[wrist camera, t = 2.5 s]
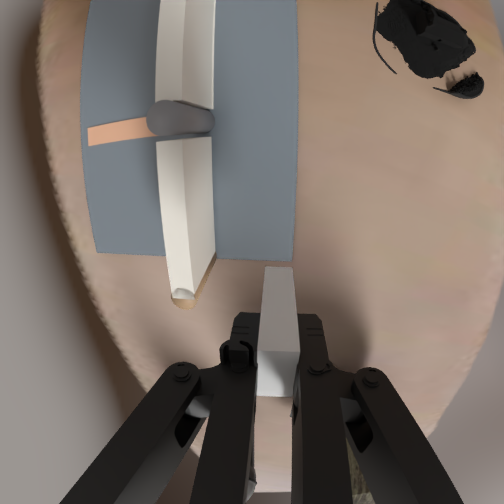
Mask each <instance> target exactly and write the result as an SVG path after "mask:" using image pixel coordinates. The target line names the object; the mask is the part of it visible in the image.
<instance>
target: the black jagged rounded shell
mask: <svg viewBox="0 0 504 504" xmlns="http://www.w3.org/2000/svg"><path fill="white" fill-rule="evenodd" d="M383 7H384V6H383ZM383 10H384V12H382V14H381V13H380V12H379V11H378V2H377V3H376V10H375V24H374V30H373V44H374V48H375V50H376V52H377V54H378V56H379V57H380V58H381V60H382V61H383V62H384V63H385V64H386V66H387V67H388V68H389V69H390V70H391V71H392V72H394V73H395V74H397V73H396V72H395V71H394V70H393V69H392V68H391V67H390V66H389V65H388V64H387V63H386V62H385V60H384V59H383V58H382V56H381V55H380V53H379V52H378V50H377V47H376V43H375V33H376V31H378V32H379V33H380V34H381V35H382V36H383V38H385V39H386V40H387V41H390V42H391V41H392V43H394V44H395V46H396V47H397V48H398V50H399V51H400V53H401V54H402V55H403V57H404V61H405V62H406V63H408V64H409V65H408V67H409V68H410V70H412V71H413V72H414V73H415V74H416V75H418V76H420V77H422V78H427V79H428V78H433V77H434V78H435V77H440V76H441V77H440V78H442V77H443V75H444V74H445V72H446V71H449V70H451V69H455V68H457V67H460V66H459V64H461V63H462V62H463V61H464V62H465V61H467V58H469V57H470V56H471V55H474V53H475V52H476V48H475V46H474V43H473V42H472V40H471V39H470V38H469V37H468V36H467V34H466V33H467V31H466V30H465V29H463V28H462V27H461V26H460V24H459V23H458V22H457V21H456V20H455V19H454V18H453V17H451V16H450V15H449V14H447V13H446V12H444V11H441V10H438V9H437V8H435V7H434V6H432V5H431V4H429V3H427V2H425V1H423V0H390V2H389V3H388V4H387V7H386V9H385V8H384V9H383ZM378 12H379V13H380V14H379V16H377V14H378ZM394 48H395V47H394ZM395 50H396V48H395ZM473 52H474V53H473ZM433 88H434V89H437V90H440V91H442V92H445V93H448V94H451V95H454V96H456V97H459V98H463V99H472V98H475V97H477V96H479V95H480V94H481V93H482V91H483V88H484V81H483V79H482V77H480V76H479V75H478V73H477V72H476V74H475V75H474V74H473V75H472V76H471V77H469V78H468V77H467V78H465V80H464V79H463V80H460V82H459V83H457V84H456V85H455V86H453V87H452V89H450V91H446V90H442V89H439V88H435V87H433Z"/></svg>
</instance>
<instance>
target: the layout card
mask: <svg viewBox="0 0 504 504" xmlns="http://www.w3.org/2000/svg"><path fill="white" fill-rule="evenodd" d="M160 2H161V0H92V1H91V2H90V7H89V12H88V18H87V24H86V31H85V38H84V47H83V57H82V70H81V92H80V122H81V145H82V159H83V170H84V179H85V188H86V195H87V202H88V209H89V215H90V221H91V226H92V232H93V237H94V242H95V246H96V251H97V253H113V254H132V255H153V256H166V251H165V243H164V235H163V226H162V217H161V207H160V196H159V184H158V169H157V151H156V142H159V141H167V140H175V139H184V138H195V137H211V139H212V182H213V209H214V232H215V251H216V253H217V258H218V259H241V260H266V261H292V253H293V238H294V221H295V202H296V179H297V150H298V30H297V4H296V0H214V21H213V56H212V109H204V110H208V111H210V112H211V113H212V114H213V116H214V118H215V124H214V127H213V128H212V129H211V130H210V131H209V132H207V133H202V134H182V135H168V136H158V135H155V134H153V133H152V132H151V131H150V130H149V129H148V127H147V123H146V116H147V112H148V110H149V109H150V107H151V106H152V105H153V104H154V103H155V77H156V51H157V34H158V22H159V11H160Z"/></svg>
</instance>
